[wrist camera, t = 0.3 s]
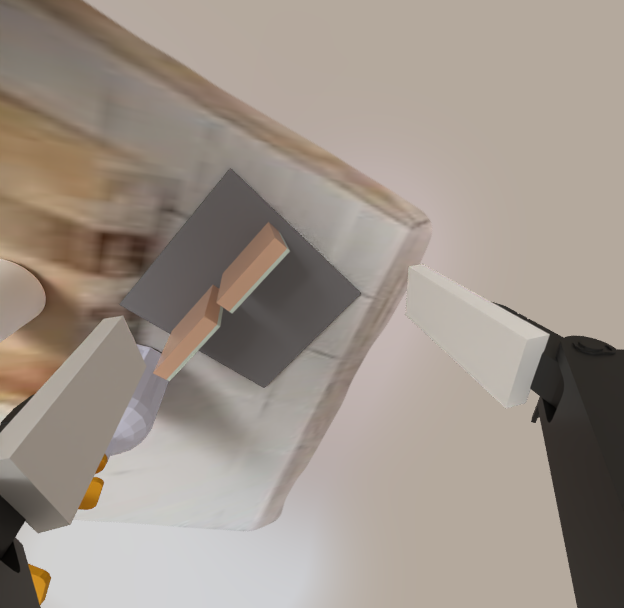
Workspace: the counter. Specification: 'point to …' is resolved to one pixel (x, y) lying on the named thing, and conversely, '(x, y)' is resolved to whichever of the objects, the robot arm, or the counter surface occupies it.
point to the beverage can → (18, 297)
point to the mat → (261, 302)
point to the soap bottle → (121, 440)
